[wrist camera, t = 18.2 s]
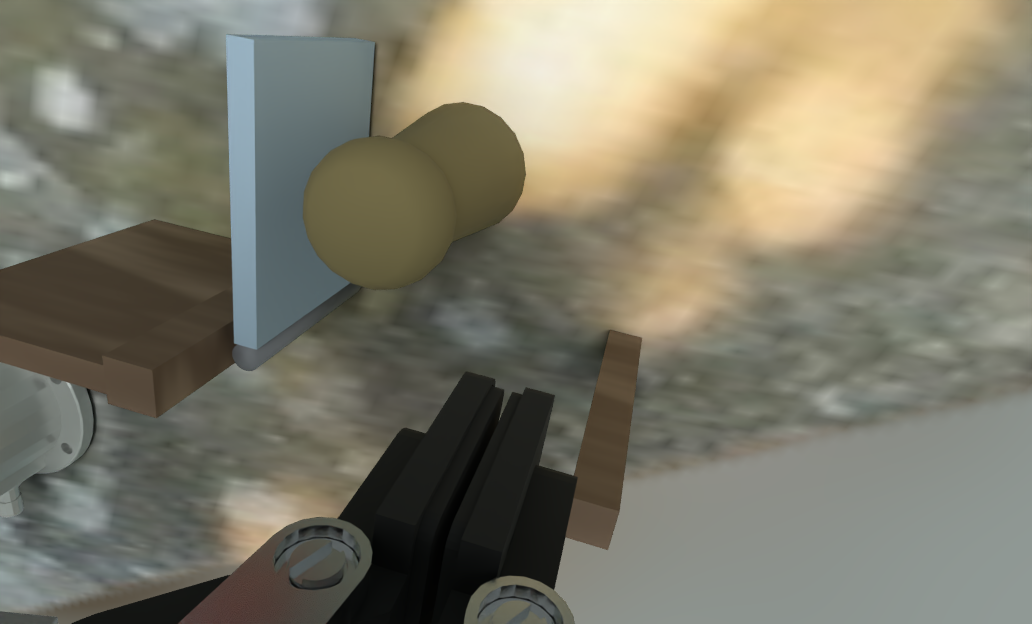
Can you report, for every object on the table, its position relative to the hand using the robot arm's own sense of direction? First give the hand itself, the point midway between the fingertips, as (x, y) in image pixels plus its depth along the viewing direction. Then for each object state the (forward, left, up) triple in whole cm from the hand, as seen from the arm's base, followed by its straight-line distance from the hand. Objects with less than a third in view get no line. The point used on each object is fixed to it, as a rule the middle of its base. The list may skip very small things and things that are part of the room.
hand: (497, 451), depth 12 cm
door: (-1, +12, -19) cm, 23 cm away
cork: (0, +7, -20) cm, 21 cm away
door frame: (-7, +11, -20) cm, 23 cm away
